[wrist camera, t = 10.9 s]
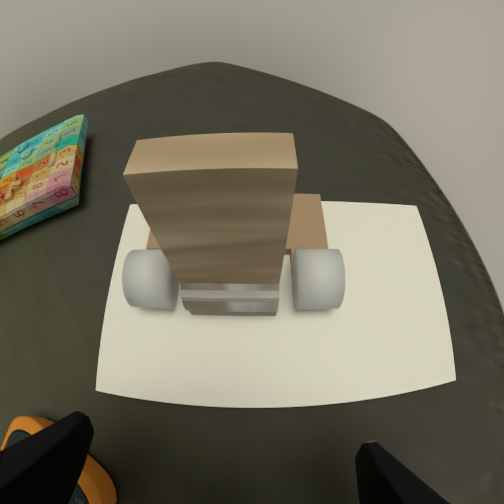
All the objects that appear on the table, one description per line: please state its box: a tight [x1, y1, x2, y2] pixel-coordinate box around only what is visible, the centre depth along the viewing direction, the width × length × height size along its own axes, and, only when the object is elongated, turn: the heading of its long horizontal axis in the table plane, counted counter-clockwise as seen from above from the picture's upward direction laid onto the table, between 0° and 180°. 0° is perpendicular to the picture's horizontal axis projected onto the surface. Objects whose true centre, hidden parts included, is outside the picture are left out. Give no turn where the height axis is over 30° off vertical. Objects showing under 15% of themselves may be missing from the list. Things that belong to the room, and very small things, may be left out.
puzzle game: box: [0, 115, 88, 240], centre depth 22 cm, size 12×5×20 cm
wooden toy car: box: [123, 133, 298, 316], centre depth 13 cm, size 3×5×11 cm
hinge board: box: [96, 194, 456, 408], centre depth 17 cm, size 14×23×4 cm, turn 90°
